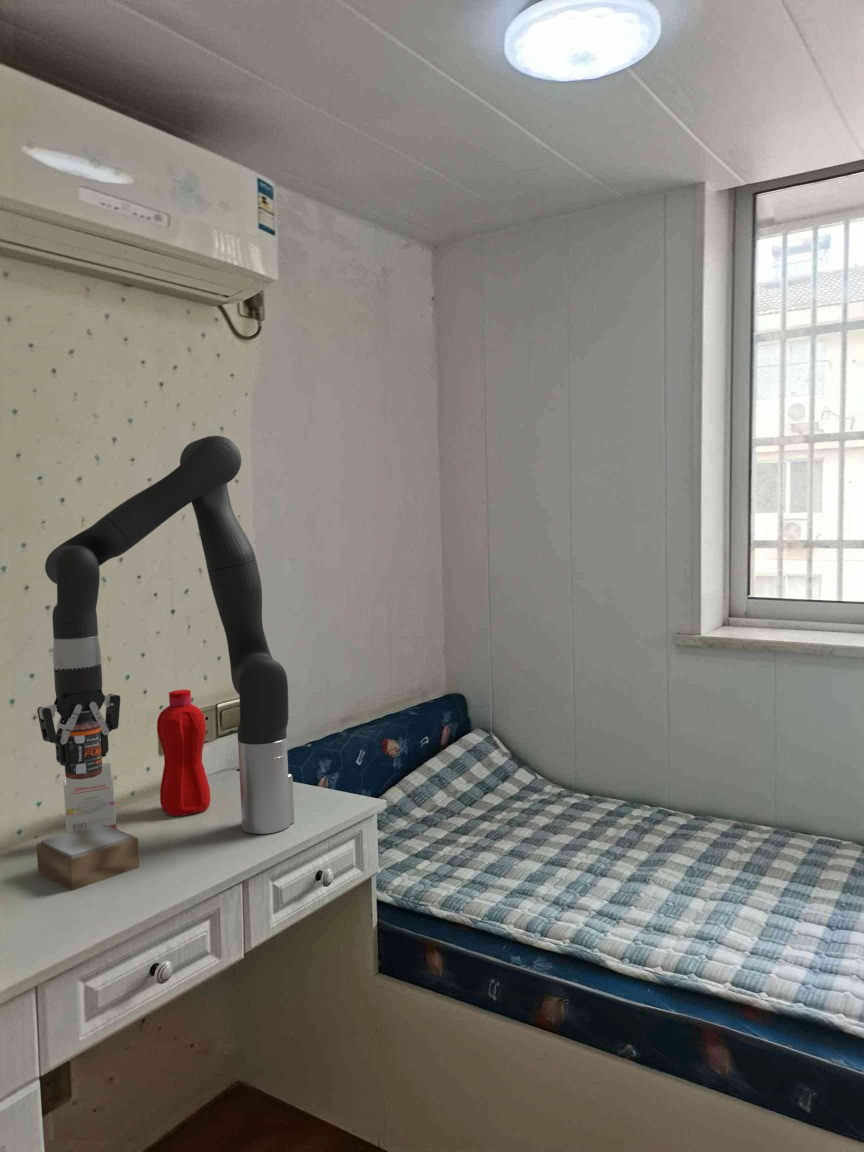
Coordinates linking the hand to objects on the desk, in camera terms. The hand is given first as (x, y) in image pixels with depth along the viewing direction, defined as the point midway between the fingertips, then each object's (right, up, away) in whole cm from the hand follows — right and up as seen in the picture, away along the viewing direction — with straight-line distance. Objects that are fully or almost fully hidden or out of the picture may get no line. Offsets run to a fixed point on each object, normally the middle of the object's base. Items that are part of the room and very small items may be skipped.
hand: (83, 760), depth 150 cm
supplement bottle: (0, -3, 0) cm, 3 cm away
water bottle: (+8, -17, +33) cm, 38 cm away
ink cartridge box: (-5, -19, +16) cm, 25 cm away
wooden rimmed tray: (+1, -19, +1) cm, 19 cm away
